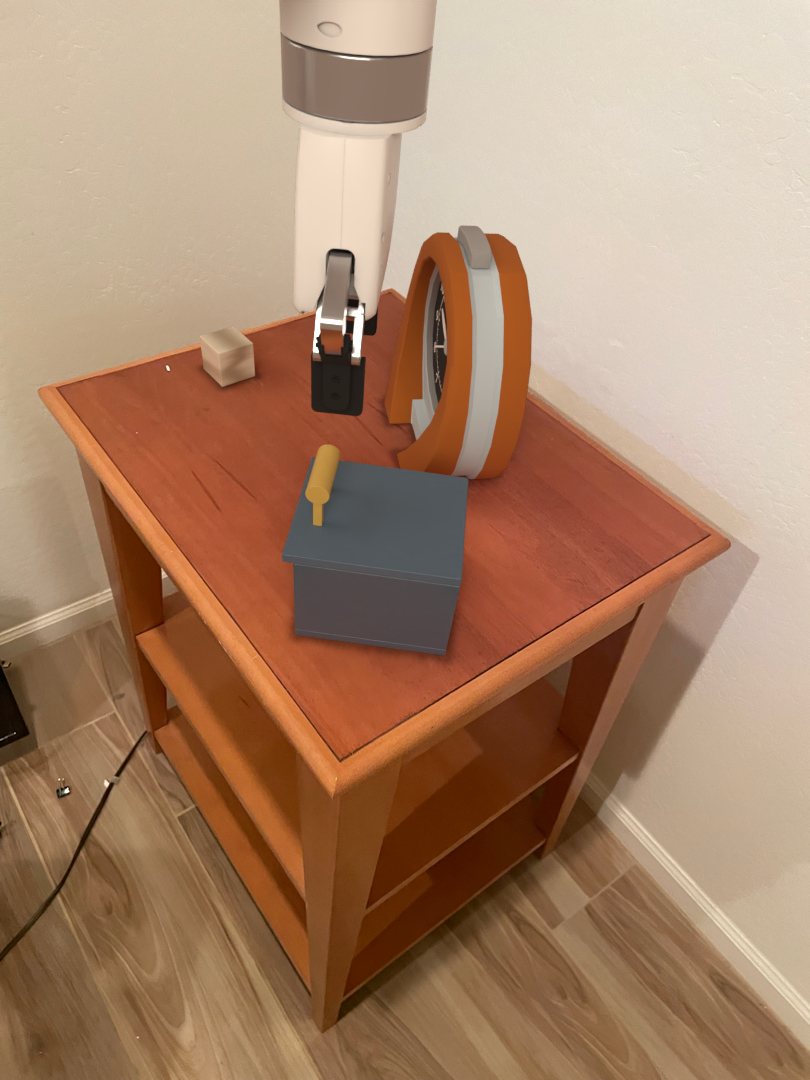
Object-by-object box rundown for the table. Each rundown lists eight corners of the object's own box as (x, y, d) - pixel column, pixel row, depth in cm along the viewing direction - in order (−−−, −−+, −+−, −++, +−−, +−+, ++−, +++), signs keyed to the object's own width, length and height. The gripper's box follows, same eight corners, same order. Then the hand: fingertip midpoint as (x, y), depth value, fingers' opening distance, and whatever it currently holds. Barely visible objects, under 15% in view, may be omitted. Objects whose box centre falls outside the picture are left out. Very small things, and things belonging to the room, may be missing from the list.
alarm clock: (378, 380, 88) (394, 184, 72) (458, 379, 90) (490, 187, 74) (409, 507, 73) (438, 294, 57) (504, 502, 75) (558, 295, 59)
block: (222, 387, 84) (218, 353, 81) (203, 369, 86) (199, 335, 83) (255, 376, 86) (253, 343, 83) (236, 358, 88) (233, 325, 85)
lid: (282, 561, 54) (279, 513, 51) (311, 463, 63) (312, 415, 59) (460, 586, 54) (470, 539, 51) (467, 484, 62) (476, 438, 59)
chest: (294, 635, 61) (292, 563, 54) (320, 537, 69) (321, 465, 63) (445, 656, 61) (460, 587, 54) (452, 555, 69) (467, 485, 63)
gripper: (308, 33, 43) (310, 301, 56) (246, 125, 31) (266, 442, 43) (434, 48, 43) (408, 312, 56) (421, 145, 31) (391, 455, 44)
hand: (346, 369), depth 50 cm, fingers open, 9 cm apart
